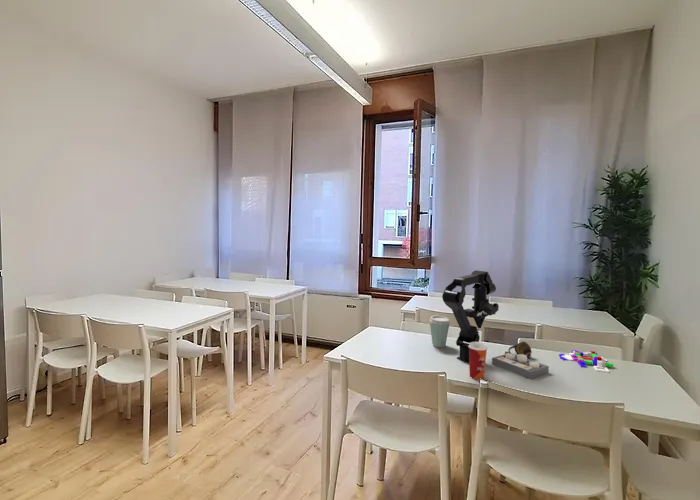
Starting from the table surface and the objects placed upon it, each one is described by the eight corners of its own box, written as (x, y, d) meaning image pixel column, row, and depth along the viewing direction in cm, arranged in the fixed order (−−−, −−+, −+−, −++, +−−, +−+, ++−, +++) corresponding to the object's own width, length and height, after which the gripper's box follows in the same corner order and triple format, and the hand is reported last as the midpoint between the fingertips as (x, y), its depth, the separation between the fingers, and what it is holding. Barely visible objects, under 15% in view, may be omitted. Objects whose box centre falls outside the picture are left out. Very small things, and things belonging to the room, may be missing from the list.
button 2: (535, 373, 168) (535, 365, 167) (527, 370, 171) (527, 362, 171) (541, 371, 170) (541, 363, 169) (532, 368, 173) (532, 360, 173)
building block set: (556, 350, 201) (556, 342, 201) (603, 356, 194) (603, 347, 193) (564, 367, 178) (564, 358, 177) (617, 375, 170) (618, 364, 170)
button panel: (530, 379, 163) (530, 372, 163) (491, 364, 179) (492, 357, 179) (548, 372, 170) (548, 366, 170) (509, 359, 186) (510, 352, 186)
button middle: (523, 365, 172) (523, 358, 172) (514, 362, 176) (515, 355, 176) (528, 363, 175) (528, 356, 174) (520, 360, 178) (520, 353, 178)
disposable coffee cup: (452, 345, 206) (453, 316, 204) (445, 350, 197) (446, 321, 195) (432, 341, 211) (433, 313, 210) (425, 346, 202) (426, 318, 201)
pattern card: (527, 370, 165) (527, 369, 165) (496, 358, 178) (497, 358, 178) (532, 368, 167) (532, 367, 167) (502, 357, 180) (502, 356, 179)
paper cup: (483, 382, 159) (485, 348, 158) (464, 377, 164) (466, 344, 162) (488, 375, 166) (489, 343, 165) (469, 371, 170) (471, 340, 169)
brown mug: (537, 350, 184) (529, 339, 193) (510, 346, 184) (503, 336, 193) (533, 363, 186) (525, 351, 195) (506, 360, 186) (499, 348, 196)
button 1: (510, 364, 178) (511, 356, 177) (503, 361, 181) (503, 354, 181) (516, 362, 180) (516, 355, 180) (508, 359, 183) (509, 352, 183)
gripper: (480, 302, 178) (480, 336, 179) (507, 297, 188) (505, 329, 189) (461, 297, 187) (461, 329, 189) (487, 293, 197) (486, 323, 199)
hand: (479, 328), depth 191 cm, fingers closed
